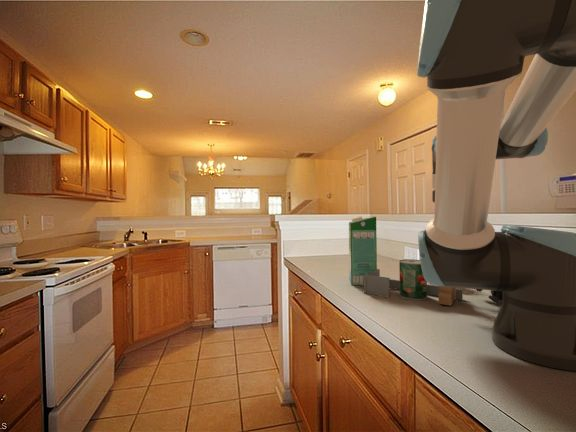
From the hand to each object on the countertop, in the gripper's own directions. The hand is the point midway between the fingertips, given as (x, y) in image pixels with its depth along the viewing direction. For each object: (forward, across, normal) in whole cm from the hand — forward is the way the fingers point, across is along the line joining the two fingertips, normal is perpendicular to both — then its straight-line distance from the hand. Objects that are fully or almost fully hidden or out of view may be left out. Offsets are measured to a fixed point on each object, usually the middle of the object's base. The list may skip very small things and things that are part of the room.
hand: (447, 261), depth 81 cm
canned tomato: (+12, 0, +10) cm, 15 cm away
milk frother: (+12, +7, -14) cm, 20 cm away
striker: (+12, 0, 0) cm, 12 cm away
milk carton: (+12, +7, +29) cm, 33 cm away
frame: (+12, 0, +10) cm, 15 cm away
